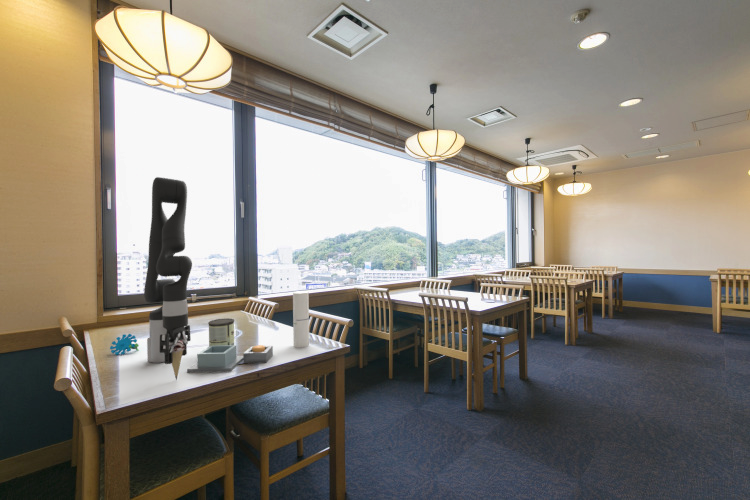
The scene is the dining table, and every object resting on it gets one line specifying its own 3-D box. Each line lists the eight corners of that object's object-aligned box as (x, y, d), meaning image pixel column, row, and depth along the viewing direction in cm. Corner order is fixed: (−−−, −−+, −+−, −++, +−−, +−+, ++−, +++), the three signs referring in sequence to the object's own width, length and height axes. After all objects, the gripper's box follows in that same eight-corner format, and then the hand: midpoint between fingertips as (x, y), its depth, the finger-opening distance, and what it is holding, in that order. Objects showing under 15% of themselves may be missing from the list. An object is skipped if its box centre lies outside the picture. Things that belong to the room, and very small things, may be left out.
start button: (250, 356, 131) (250, 349, 131) (254, 352, 135) (254, 345, 135) (262, 356, 131) (262, 348, 131) (266, 352, 136) (266, 345, 135)
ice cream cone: (171, 385, 109) (170, 340, 108) (163, 381, 112) (162, 338, 111) (188, 379, 113) (188, 336, 113) (180, 375, 116) (179, 334, 116)
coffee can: (209, 351, 144) (208, 319, 144) (234, 347, 148) (233, 317, 148) (208, 358, 135) (207, 324, 135) (235, 354, 139) (234, 322, 139)
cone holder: (187, 372, 119) (187, 355, 119) (206, 359, 133) (205, 344, 133) (230, 371, 120) (230, 355, 120) (244, 358, 134) (244, 343, 134)
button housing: (243, 363, 128) (243, 353, 128) (251, 355, 137) (251, 346, 137) (266, 362, 129) (266, 352, 129) (272, 355, 138) (272, 345, 138)
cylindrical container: (305, 347, 147) (304, 293, 147) (290, 347, 149) (290, 293, 148) (311, 343, 154) (310, 291, 154) (297, 342, 156) (297, 291, 155)
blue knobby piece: (103, 352, 139) (119, 331, 146) (110, 358, 143) (125, 338, 150) (128, 355, 139) (142, 334, 146) (134, 361, 143) (148, 341, 150)
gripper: (174, 317, 105) (175, 366, 105) (197, 308, 119) (197, 352, 120) (150, 317, 105) (151, 367, 105) (176, 309, 119) (177, 352, 119)
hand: (176, 359), depth 112 cm, fingers open, 8 cm apart
